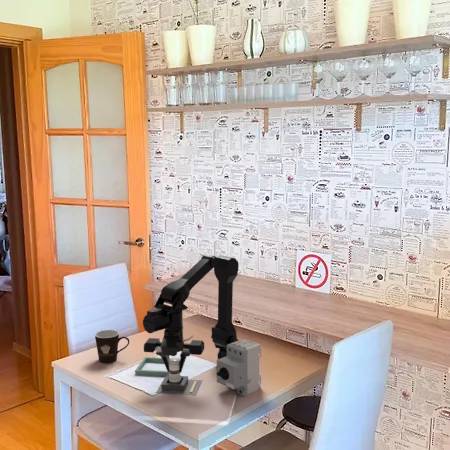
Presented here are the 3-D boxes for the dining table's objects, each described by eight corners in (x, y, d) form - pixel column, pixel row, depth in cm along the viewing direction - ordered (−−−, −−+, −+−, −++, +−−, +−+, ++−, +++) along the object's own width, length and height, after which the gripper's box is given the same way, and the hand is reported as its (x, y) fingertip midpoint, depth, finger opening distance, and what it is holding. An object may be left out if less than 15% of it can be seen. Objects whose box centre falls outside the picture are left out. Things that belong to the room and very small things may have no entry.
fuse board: (202, 383, 190) (202, 374, 190) (196, 398, 180) (196, 389, 179) (164, 381, 192) (164, 372, 192) (155, 395, 181) (155, 386, 181)
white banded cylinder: (181, 378, 187) (181, 357, 186) (179, 383, 183) (178, 362, 182) (170, 377, 188) (170, 357, 187) (167, 382, 184) (167, 361, 183)
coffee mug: (91, 362, 208) (89, 335, 207) (105, 354, 216) (104, 328, 214) (117, 367, 203) (116, 340, 202) (131, 358, 211) (130, 332, 209)
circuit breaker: (213, 395, 182) (212, 350, 179) (244, 381, 191) (244, 338, 189) (230, 403, 176) (229, 356, 174) (261, 388, 186) (261, 344, 184)
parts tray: (177, 365, 205) (177, 358, 205) (169, 379, 193) (169, 372, 193) (145, 363, 207) (144, 356, 206) (135, 377, 195) (135, 370, 195)
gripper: (137, 332, 176) (139, 380, 179) (197, 335, 173) (198, 384, 176) (147, 320, 187) (149, 366, 189) (204, 323, 184) (204, 369, 187)
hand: (174, 371), depth 185 cm, fingers closed on white banded cylinder, 4 cm apart
